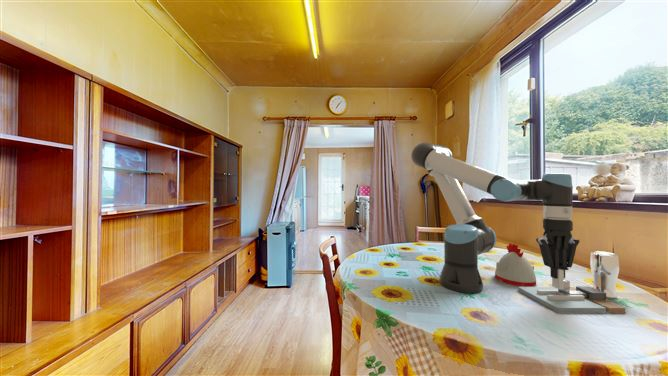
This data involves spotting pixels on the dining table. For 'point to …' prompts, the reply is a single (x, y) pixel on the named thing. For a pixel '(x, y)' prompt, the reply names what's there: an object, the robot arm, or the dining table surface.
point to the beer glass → (605, 272)
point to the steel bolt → (567, 291)
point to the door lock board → (572, 300)
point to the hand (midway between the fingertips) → (557, 287)
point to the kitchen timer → (515, 268)
